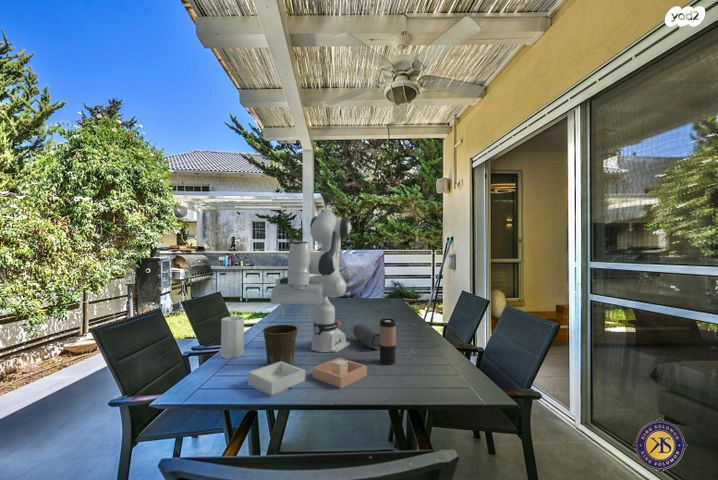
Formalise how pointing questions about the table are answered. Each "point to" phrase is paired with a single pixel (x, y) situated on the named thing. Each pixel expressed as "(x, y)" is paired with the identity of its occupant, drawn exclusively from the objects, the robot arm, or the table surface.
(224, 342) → the cup
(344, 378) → the terracotta bin
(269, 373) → the light grey bin
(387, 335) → the travel mug
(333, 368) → the sandstone block
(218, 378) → the table surface
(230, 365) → the table surface
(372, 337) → the bluetooth speaker
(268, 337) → the plant pot
